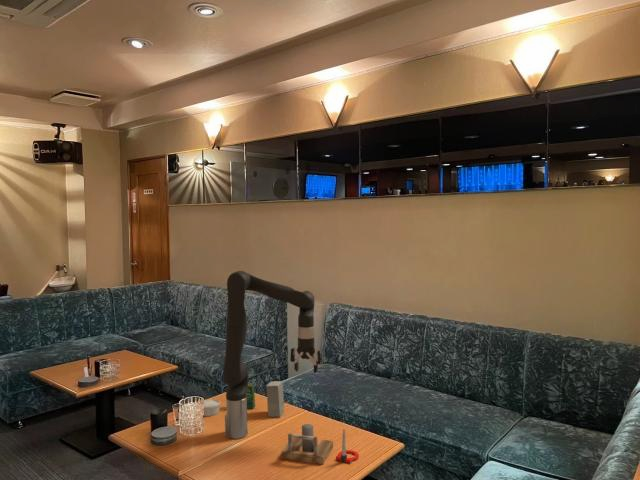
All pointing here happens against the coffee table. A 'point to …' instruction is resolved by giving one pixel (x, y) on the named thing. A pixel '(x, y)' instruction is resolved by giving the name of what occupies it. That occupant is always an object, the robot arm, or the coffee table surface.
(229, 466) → the coffee table surface
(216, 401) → the ramekin
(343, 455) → the tow hook
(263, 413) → the coffee table surface
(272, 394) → the skincare box
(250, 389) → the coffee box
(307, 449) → the grey tapered capsule
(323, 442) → the wooden gate frame
